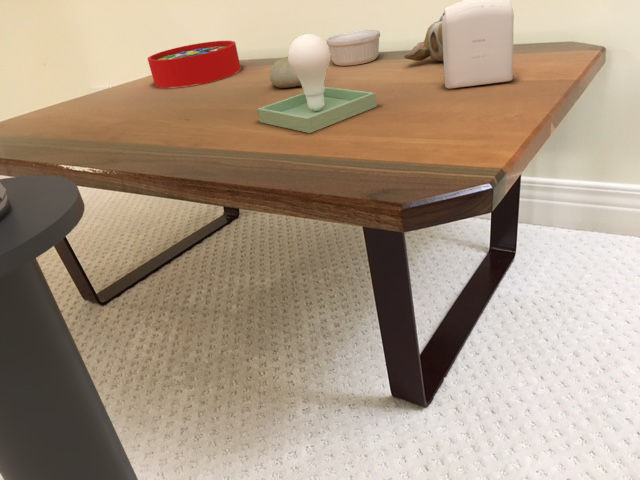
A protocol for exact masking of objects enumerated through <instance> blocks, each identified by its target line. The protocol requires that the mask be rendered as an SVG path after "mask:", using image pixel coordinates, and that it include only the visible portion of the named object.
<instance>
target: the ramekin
mask: <svg viewBox="0 0 640 480" xmlns="http://www.w3.org/2000/svg"><path fill="white" fill-rule="evenodd" d="M380 37H381V32H380V31H379V30H378V29H363V30H356V31H355V30H354V31H349V32H344V33H340V34H336V35H332V36H329V37H328V38H326V40H325V42H326V44H327V46H328V48H329V51H330V59H331V60H332V62H333V64H334V65H336V66H340V67H341V66H343V67H347V66H348V67H349V66H357V65H362V64H366V63H371V62H373V61H375V60H376V59H377V58H378V56H379V51H380V50H379V49H380Z"/></svg>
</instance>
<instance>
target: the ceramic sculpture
mask: <svg viewBox="0 0 640 480" xmlns="http://www.w3.org/2000/svg"><path fill="white" fill-rule="evenodd" d="M443 16H444V12H443V13H442V15H441V16H440V18H439V20H438V21H435V22H433V23H432V24H430V25H429V27H428V28H427V30H426V33H425V37H424V40H423V41H421V42H418V43H417V44H416V45H415V46H414V47H413V48H412V49H411V51H410V52H409V54H405V55H404V56H403V57H404V59H407V60H411V61H414V62H415V61H416V62H420V61H425V60H426V59H428V58H429V57H430V58H431V59H433V60H435V61H437V62H444V60H443V38H442V21H443Z"/></svg>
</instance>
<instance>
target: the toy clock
mask: <svg viewBox="0 0 640 480" xmlns="http://www.w3.org/2000/svg"><path fill="white" fill-rule="evenodd" d="M147 63H148V65H149V69H150V73H151V76H152V79H153V83H154V87H156V88H161V89H178V88H187V87H192V86H198V85H203V84H207V83H212V82H215V81H220V80H222V79H226V78H229V77H231V76H234V75H236V74H237V73H239V72H241V70H242V67H241V62H240V58H239V52H238V49H237V44H236V42H235V41H234V40H214V41H206V42H199V43H193V44H188V45H184V46H178V47H173V48H170V49H165V50H163V51H160V52H156V53H153V54H151V55H150V56H148V57H147Z"/></svg>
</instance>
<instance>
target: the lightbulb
mask: <svg viewBox="0 0 640 480" xmlns="http://www.w3.org/2000/svg"><path fill="white" fill-rule="evenodd" d="M287 57H288V62H289V65H290V67H291V69H292V70H293V72H294V73H295V74H296V76H297V77H298V79H299V80H300V82H301V85H302V86H301V87H302V91H303V93H304V94H305V95H306V99H307V104H308V107H309V108H310V109H313V110H314V111H319V110H320V109H321V108H322V107H323V106H324V105H325V104H324V103H325V102H324V91H325V87H326V86H325V79H326V74H327V71H328V69H329V65H330V62H331V54H330V51H329V47H328V45H327V42H326V40H324V39H323V38H322V37H320V36H319V35H316V34H313V33H312V34H311V33H305V34H302V35H300V36H297V37H296V38H295V39H294V40H293V41H292V42H291V44H290V46H289V48H288V52H287Z"/></svg>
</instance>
